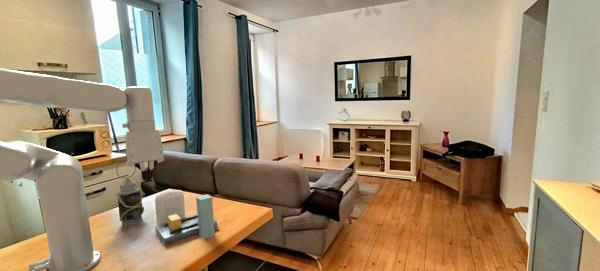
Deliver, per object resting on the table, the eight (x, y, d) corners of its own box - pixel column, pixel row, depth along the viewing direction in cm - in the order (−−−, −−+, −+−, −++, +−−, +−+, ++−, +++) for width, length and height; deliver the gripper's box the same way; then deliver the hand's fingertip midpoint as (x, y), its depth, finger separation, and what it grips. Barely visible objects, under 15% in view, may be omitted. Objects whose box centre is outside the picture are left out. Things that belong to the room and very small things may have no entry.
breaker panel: (165, 245, 90) (164, 237, 90) (156, 232, 99) (155, 224, 99) (217, 228, 102) (217, 220, 101) (205, 217, 111) (204, 210, 110)
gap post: (203, 239, 94) (200, 200, 92) (199, 235, 97) (196, 196, 95) (214, 235, 96) (212, 197, 94) (210, 231, 99) (207, 194, 97)
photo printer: (184, 215, 113) (182, 186, 111) (186, 219, 109) (184, 189, 108) (156, 222, 107) (153, 192, 106) (157, 226, 104) (154, 195, 102)
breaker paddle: (172, 230, 95) (171, 220, 94) (168, 225, 99) (167, 216, 98) (181, 227, 97) (180, 218, 96) (177, 222, 101) (176, 213, 100)
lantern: (139, 216, 113) (132, 157, 110) (149, 221, 109) (142, 159, 105) (115, 225, 106) (107, 161, 102) (125, 230, 101) (117, 164, 98)
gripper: (115, 129, 80) (123, 189, 83) (170, 124, 90) (175, 179, 93) (112, 127, 86) (119, 183, 89) (164, 123, 96) (169, 174, 98)
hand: (147, 181), depth 91 cm, fingers closed
